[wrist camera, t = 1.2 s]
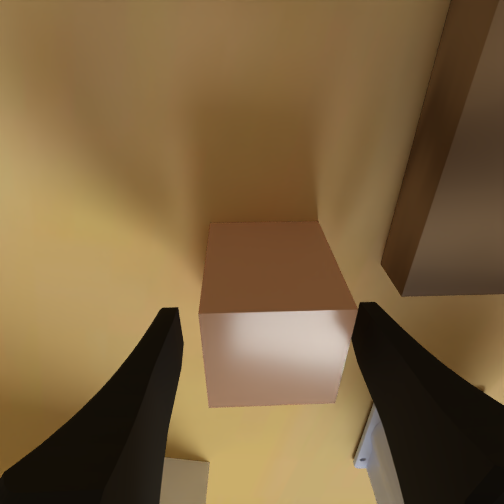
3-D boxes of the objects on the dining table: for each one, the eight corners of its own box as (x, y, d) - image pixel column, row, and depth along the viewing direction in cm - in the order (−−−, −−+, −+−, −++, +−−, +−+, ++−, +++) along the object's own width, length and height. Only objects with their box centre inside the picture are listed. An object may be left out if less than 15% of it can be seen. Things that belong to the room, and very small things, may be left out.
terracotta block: (307, 301, 18) (335, 402, 13) (216, 304, 18) (209, 407, 13) (318, 220, 15) (358, 309, 10) (210, 222, 15) (198, 313, 10)
